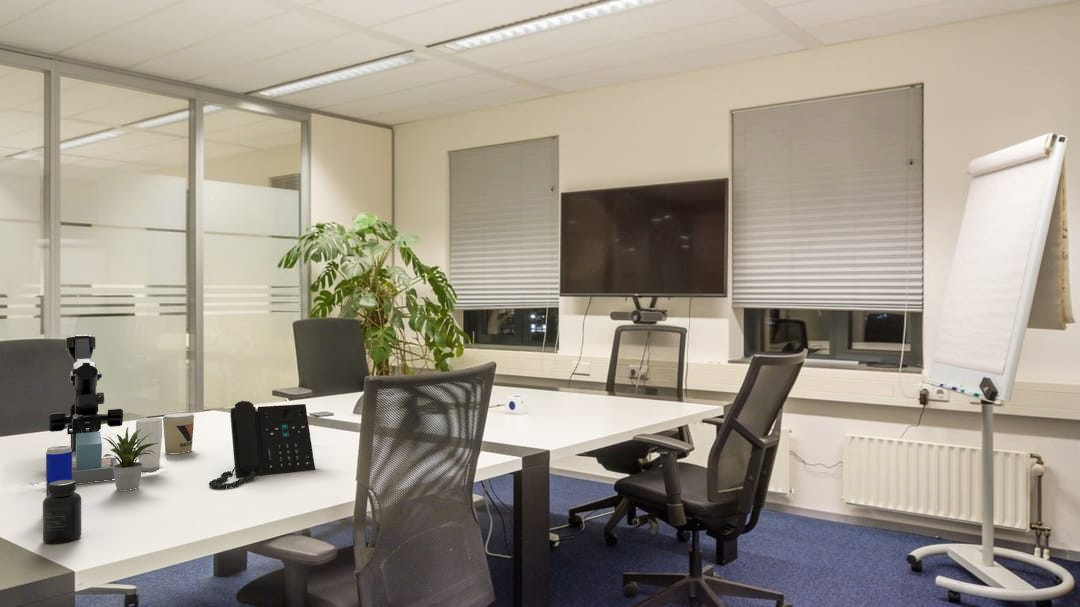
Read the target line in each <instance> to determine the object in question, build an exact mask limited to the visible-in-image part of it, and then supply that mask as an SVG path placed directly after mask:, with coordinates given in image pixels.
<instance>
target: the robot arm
mask: <svg viewBox="0 0 1080 607" xmlns="http://www.w3.org/2000/svg"><path fill="white" fill-rule="evenodd" d="M96 348H97V347H96V337H95V336H92V335H90V334H75V335H71V336H69V337H66V338H65V351H68V353H67V354H68V355H67V356H68V358H69V359H70V360H71V362H72V363H73V364H72V369H71V370H70V371H69V382H70V383H72V386H73V387H74V390H73V392H74V403H73V404H72V405H71V407H70V409H69V415H67V416H66V412H65V411H64V412H53V413H50V414H49V416H48V417H49V420H48V421H49V422H48V425H49V426H48V430H49V432H51V433H52V432H62V431H64V430H65V429H66V432H67V433H66V435H70V447H71V449H72V453H74V452H75V453H76V434H78V433H90V432H100V430H101V429H102V422H107V426H108V427H110V428H113V427H121V426H123V422H124V410H123V409H122V408H110V409H109V408H108V409H107V413H99V405H104V404H105V393H104V392H103V391H102V392H97V386H98V382H99V381H100V380H101V379H102V376H103V374H102V373H101V372H100V370H99V369H98V368H97V364H96V363H95V362H94V361H93V360H92V357H93V353H94V350H96Z"/></svg>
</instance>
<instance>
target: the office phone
mask: <svg viewBox="0 0 1080 607" xmlns="http://www.w3.org/2000/svg"><path fill="white" fill-rule="evenodd" d="M306 405H307V404H305V403H299V404H285V405H284V404H283V405H282V404H281V405H267V406H266V405H264V406H257V410H256V406H254V404H253V403H252V402H251V401H250V400H249V401H248V400H239V401H237V402H236V403H235V404H234V407H232V408H230V425H231V440H232V450H233V463H234V467H233V469H232V471H231V470H230V471H229V470H227V471H224V472H222V473H221V474H220V477H217V478H215V479H212V480H210V481H209V482H208V485H209V487H210V488H211V489H215V490H224V489H223V488H227V489H230V488H231V487H233V488H236V487H239V486H240V485H242V484H244V483H249V482H250V481H254V479H255V478H256V477H257V476H265V475H272V474H273V475H274V474H275V475H276V474H282V473H283V474H284V473H293V472H304V471H305V472H306V471H315V470H316V464H315V460H314V453H313V452H314V451H313V445H312V439H311V432H310V425H309V418H308V413H307V406H306ZM233 473H235V474H233ZM230 475H231V476H230ZM233 475H236V476H235V477H236V479H237V480H235V481H232V482H230V483H229V482H228V483H225V481H226V480H227V479H228V478H229V477H232V476H233ZM240 477H241V478H240ZM238 478H239V479H238ZM223 481H224V482H223ZM220 482H221V483H220ZM226 482H227V481H226ZM218 483H219V484H218ZM235 486H236V487H235ZM220 488H221V489H220Z"/></svg>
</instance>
